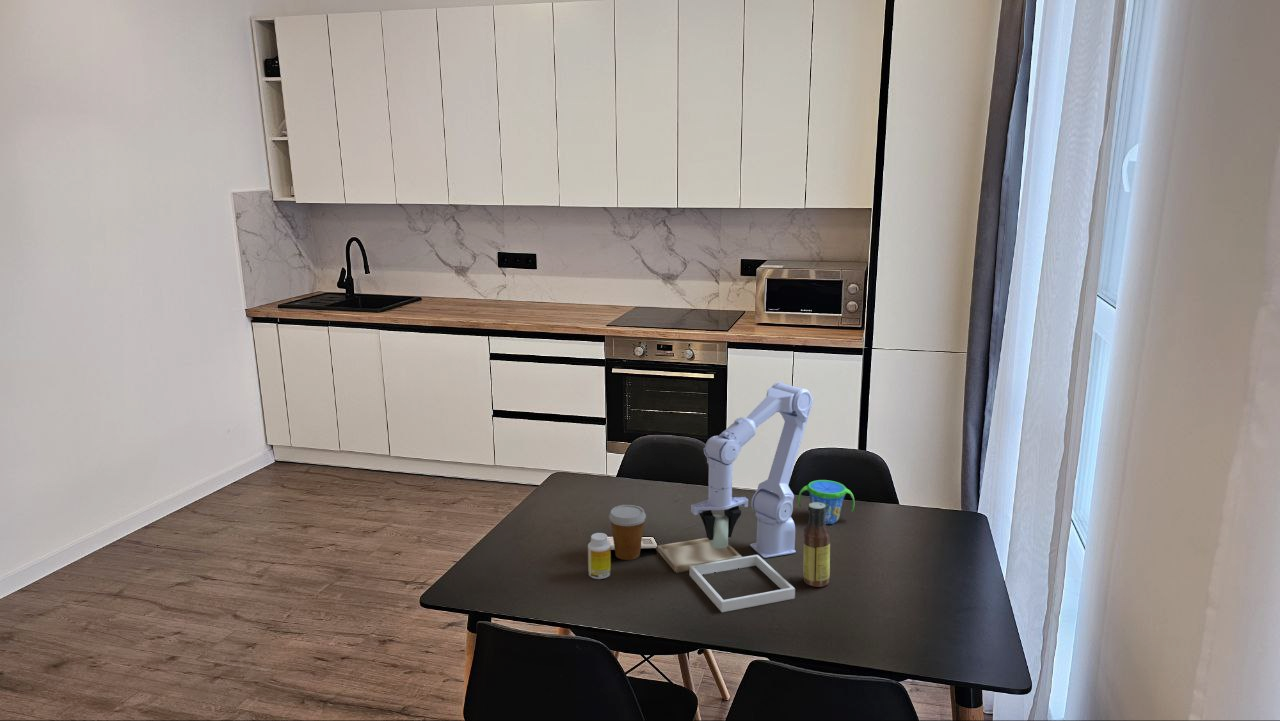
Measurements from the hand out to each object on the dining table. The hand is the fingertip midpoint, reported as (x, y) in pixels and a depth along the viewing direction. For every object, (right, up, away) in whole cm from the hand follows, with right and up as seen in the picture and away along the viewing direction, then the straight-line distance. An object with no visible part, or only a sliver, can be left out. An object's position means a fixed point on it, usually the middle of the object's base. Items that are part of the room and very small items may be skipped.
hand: (719, 537), depth 204 cm
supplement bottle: (-29, -9, 0) cm, 31 cm away
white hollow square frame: (+5, -11, -6) cm, 13 cm away
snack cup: (+33, -2, +32) cm, 46 cm away
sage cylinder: (0, -2, 0) cm, 2 cm away
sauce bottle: (+23, -10, -4) cm, 25 cm away
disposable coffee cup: (-23, -7, +10) cm, 26 cm away
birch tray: (-4, -7, +9) cm, 13 cm away
